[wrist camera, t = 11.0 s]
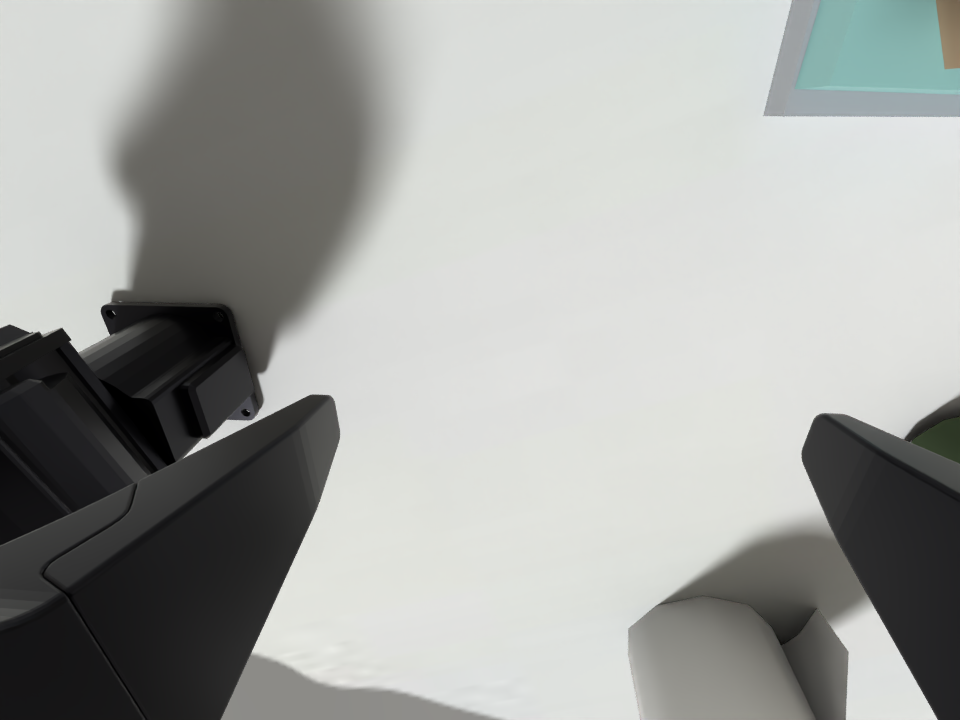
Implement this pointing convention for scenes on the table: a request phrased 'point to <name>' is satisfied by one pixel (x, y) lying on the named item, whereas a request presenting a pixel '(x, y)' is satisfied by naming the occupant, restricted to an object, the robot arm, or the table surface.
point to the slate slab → (831, 101)
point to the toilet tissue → (734, 665)
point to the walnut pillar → (949, 31)
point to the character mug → (942, 439)
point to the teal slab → (877, 48)
